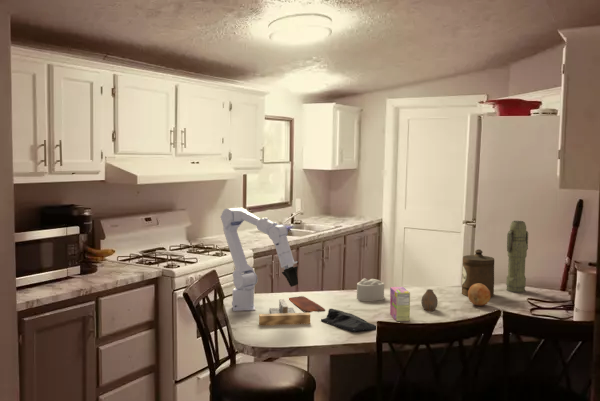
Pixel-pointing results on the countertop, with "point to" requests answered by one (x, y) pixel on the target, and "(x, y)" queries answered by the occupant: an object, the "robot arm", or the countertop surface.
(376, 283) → the lumpy-topped squat cylinder
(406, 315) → the box
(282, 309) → the stand
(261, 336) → the countertop surface
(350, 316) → the dark slate chunk
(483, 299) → the orange fruit
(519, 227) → the green totem statue
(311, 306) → the wooden tablet
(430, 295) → the vase
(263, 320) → the oak bar
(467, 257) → the wooden container
